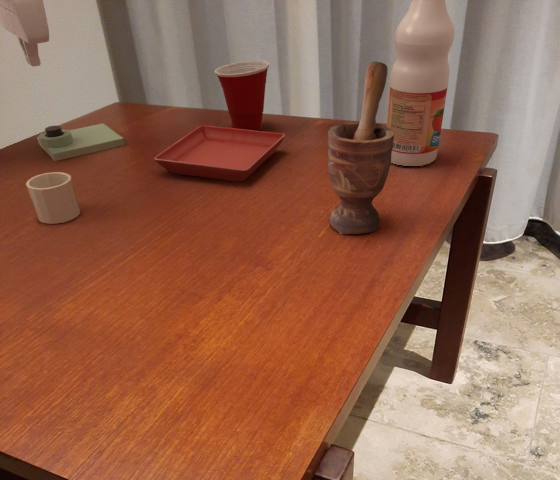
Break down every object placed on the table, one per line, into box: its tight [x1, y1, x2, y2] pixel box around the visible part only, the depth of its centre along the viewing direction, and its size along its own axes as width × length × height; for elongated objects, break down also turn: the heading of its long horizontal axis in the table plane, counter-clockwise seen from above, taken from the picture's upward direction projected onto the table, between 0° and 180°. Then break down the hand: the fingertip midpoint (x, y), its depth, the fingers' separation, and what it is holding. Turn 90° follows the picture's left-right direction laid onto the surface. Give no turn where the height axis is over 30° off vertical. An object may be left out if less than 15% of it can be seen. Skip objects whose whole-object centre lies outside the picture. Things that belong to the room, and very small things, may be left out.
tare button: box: [44, 125, 63, 137], centre depth 107 cm, size 3×3×2 cm
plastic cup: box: [214, 59, 270, 131], centre depth 111 cm, size 11×11×12 cm
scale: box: [36, 122, 126, 162], centre depth 110 cm, size 14×12×3 cm
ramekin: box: [25, 171, 81, 225], centre depth 85 cm, size 6×6×6 cm
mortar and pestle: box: [327, 61, 394, 235], centre depth 76 cm, size 12×9×20 cm
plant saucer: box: [153, 125, 286, 183], centre depth 100 cm, size 18×18×3 cm
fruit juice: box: [385, 0, 455, 167], centre depth 90 cm, size 9×9×28 cm
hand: (34, 64), depth 100 cm, fingers closed
